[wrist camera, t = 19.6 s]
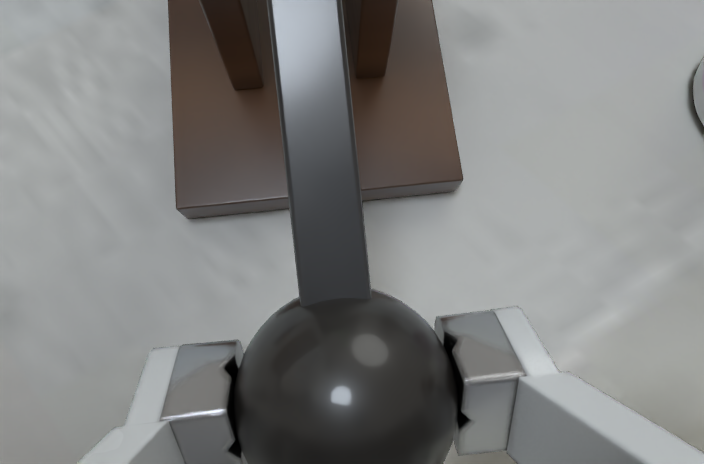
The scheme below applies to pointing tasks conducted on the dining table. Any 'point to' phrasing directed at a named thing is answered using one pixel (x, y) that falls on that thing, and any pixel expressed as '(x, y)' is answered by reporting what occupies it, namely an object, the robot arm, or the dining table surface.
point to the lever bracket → (263, 112)
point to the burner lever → (335, 291)
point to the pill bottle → (699, 91)
